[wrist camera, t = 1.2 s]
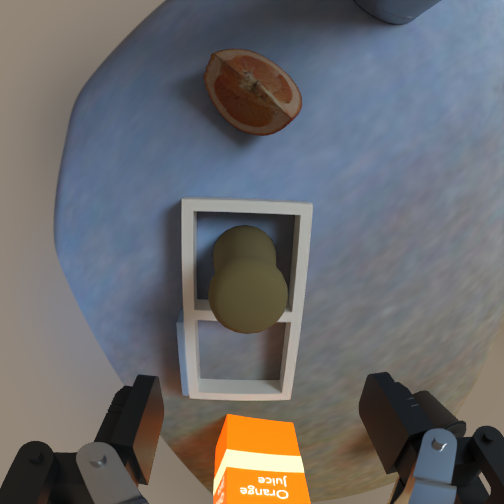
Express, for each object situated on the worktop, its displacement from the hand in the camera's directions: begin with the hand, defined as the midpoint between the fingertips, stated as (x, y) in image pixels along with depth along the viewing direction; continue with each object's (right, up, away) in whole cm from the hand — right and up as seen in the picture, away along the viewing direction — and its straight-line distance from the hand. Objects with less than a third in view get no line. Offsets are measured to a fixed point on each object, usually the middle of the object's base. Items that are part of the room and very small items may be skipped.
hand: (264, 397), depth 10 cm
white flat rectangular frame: (-1, 0, +20) cm, 20 cm away
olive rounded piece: (-1, +5, +19) cm, 19 cm away
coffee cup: (+24, -17, +26) cm, 39 cm away
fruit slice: (-1, +20, +15) cm, 25 cm away
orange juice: (0, -19, +25) cm, 32 cm away
